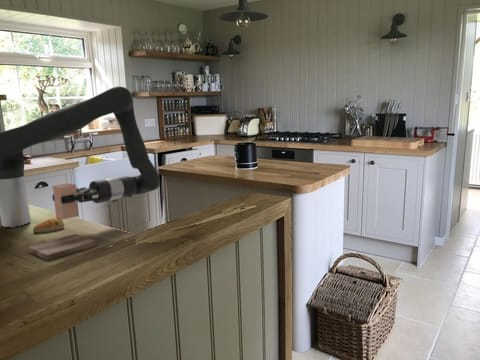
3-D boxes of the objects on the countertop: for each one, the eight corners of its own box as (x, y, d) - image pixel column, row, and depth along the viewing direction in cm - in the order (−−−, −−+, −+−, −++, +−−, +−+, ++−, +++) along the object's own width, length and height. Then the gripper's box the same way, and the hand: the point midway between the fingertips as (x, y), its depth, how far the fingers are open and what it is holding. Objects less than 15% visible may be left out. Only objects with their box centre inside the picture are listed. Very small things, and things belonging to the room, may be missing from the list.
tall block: (56, 217, 128) (52, 185, 126) (71, 213, 132) (68, 183, 130) (63, 219, 125) (59, 187, 123) (79, 215, 128) (75, 184, 127)
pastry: (37, 235, 131) (35, 224, 131) (30, 232, 136) (29, 221, 136) (66, 228, 138) (65, 217, 137) (59, 225, 143) (57, 215, 142)
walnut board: (29, 251, 115) (28, 246, 115) (76, 238, 125) (75, 234, 125) (47, 260, 107) (46, 255, 107) (96, 245, 117) (95, 240, 117)
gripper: (94, 177, 142) (45, 185, 129) (117, 181, 132) (66, 189, 120) (96, 198, 143) (48, 208, 130) (119, 203, 134) (69, 214, 121)
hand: (57, 199), depth 125 cm, fingers closed on tall block, 5 cm apart
